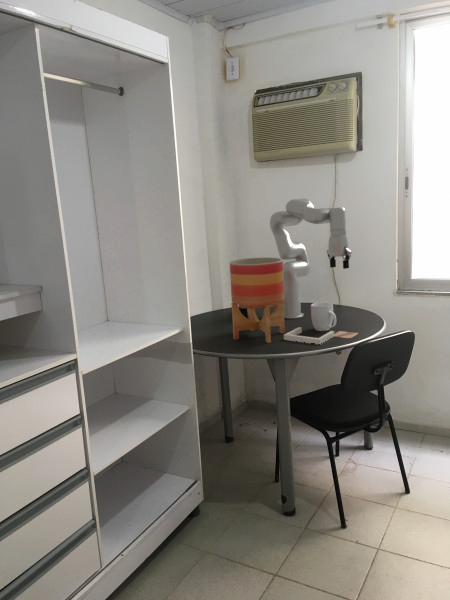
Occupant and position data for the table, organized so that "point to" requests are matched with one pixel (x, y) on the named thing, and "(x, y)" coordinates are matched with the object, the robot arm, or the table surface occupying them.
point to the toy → (244, 312)
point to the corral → (293, 337)
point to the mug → (322, 316)
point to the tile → (345, 334)
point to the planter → (257, 294)
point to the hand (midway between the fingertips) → (339, 267)
